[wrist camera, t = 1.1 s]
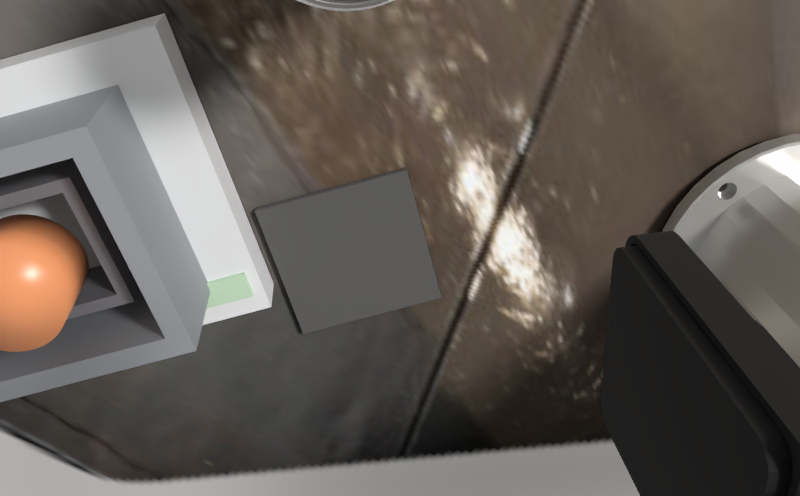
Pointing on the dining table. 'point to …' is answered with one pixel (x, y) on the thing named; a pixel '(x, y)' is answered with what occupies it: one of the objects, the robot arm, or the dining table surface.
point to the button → (37, 280)
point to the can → (345, 4)
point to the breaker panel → (124, 202)
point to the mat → (350, 250)
